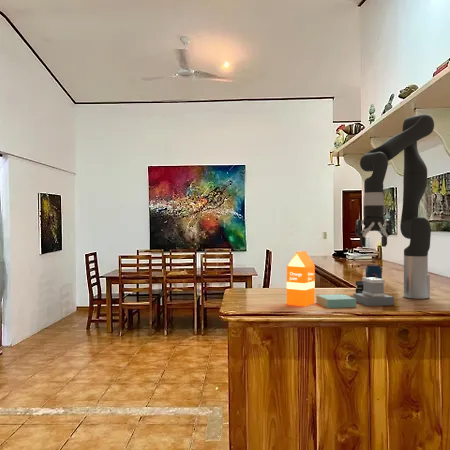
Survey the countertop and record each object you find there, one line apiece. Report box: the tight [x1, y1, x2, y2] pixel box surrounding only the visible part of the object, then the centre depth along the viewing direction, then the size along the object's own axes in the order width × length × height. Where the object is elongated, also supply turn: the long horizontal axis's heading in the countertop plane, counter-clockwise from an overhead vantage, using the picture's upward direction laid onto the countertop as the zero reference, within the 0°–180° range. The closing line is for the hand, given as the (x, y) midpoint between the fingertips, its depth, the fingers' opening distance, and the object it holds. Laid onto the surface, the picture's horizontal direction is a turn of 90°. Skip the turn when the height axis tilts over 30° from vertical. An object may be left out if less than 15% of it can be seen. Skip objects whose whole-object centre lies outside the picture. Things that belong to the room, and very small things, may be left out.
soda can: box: [365, 263, 383, 279], centre depth 215 cm, size 7×7×12 cm
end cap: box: [355, 280, 363, 293], centre depth 200 cm, size 10×7×7 cm
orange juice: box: [286, 250, 316, 307], centre depth 184 cm, size 8×9×20 cm
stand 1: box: [315, 293, 357, 309], centre depth 182 cm, size 11×11×3 cm
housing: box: [361, 276, 386, 297], centre depth 186 cm, size 8×5×6 cm, turn 12°
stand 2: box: [353, 292, 395, 307], centre depth 186 cm, size 11×11×3 cm
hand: (373, 246), depth 186 cm, fingers open, 8 cm apart
